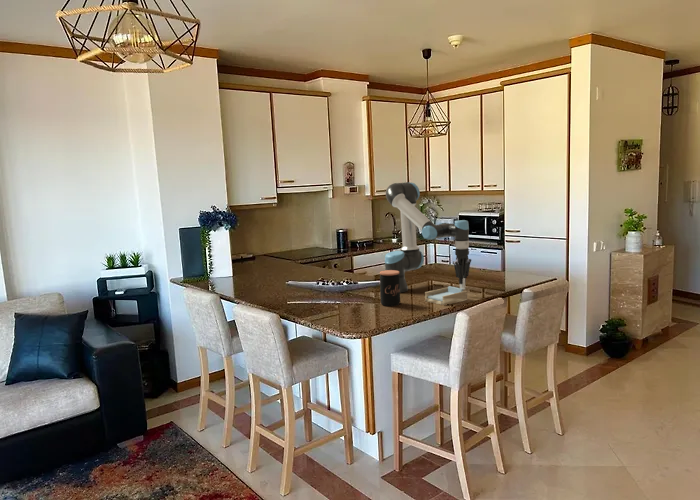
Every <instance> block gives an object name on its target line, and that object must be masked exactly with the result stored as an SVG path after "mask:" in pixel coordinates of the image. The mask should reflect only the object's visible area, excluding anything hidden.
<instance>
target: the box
mask: <svg viewBox="0 0 700 500" xmlns="http://www.w3.org/2000/svg"><path fill="white" fill-rule="evenodd" d="M448 287H449V286H447V287H443V288H442V287H441V288H439V289H433V290H429V291H425V292H424V299H425V300H424V302H427V303H431V304H435V303H436V304H437V305H439V304H440V305H439V306H443V305H445V306H447V304H449V305H452V304H457V303H461V302H464V301H468V291H467V290H463V292H458V293H454V294H450V295H446V296H443V301H439V300H435V299H430V298H428V296H430V295H434V294H439V293H443V292H448Z"/></svg>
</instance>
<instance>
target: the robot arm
mask: <svg viewBox="0 0 700 500" xmlns="http://www.w3.org/2000/svg"><path fill="white" fill-rule="evenodd" d="M420 194H421V193H420V188H419V187H418V185H416V183H414V182H409V181H408V182H406V181H405V182H395V183H394V182H393V183H391V184H390V185H389V186H388V187H387V189H386V190H385V198H386V200H387V202H388V203H389V204H390V205H391V206H392V207H393V208H396V209H398V210H399V211H400V225H401V241H402V246H401V248H400V250H395V251H390V252H387V253H386V254H385V256H384V269H385V270H396V271H399V276H400V294H401V293H406V292H408V291H409V287H408V283H407V281H406V277H405V273H406V272H410V271H415V270H417V269H420V268H422V266H423V264H424V260H425V257H424V254H423V252H422V251H421V250H420V247H419V246H418V245H417V233H416V231H417V230H416V227H417V228H418V229H419V230H421V235H422V238H423V239H425V240H435V239H440V238H447V237H452V238H454V247H455V249H454V254H455V256H456V257H455V261H452V264H453V267H454V273H455V277H456V278H457V279H458V284H459V288H461V289H463V291H466V280H467V279H468V277H469V274H470V267H471V263H472V259H471V258H469V255H470V251H469V250H470V249H469V247H470V243H469V242H470V241H469V239H470V238H469V235H470V234H469V231H470V226H469V225H470V224H469V221H468V220H465V219H462V220H455V221H454V223H447V222H440V223H439V224H435V223H433V222H432V221H431V219H429V218H428V217H427V216H426V215H425V214H424V213H423V212H422V211H420V209H418V208H417V207H416V205H417V201H418V200H419V198H420ZM385 270H384V271H385Z"/></svg>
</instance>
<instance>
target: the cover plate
mask: <svg viewBox="0 0 700 500" xmlns="http://www.w3.org/2000/svg"><path fill="white" fill-rule="evenodd" d="M447 287H448V292H443V293H439V294H434V295H430V296H428V298H430V299H435V300H439V301H443V296H446V295H450V294H454V293H458V292H463V291H464V290H463V289H461V288H460V287H455V286H450V285H449V286H447Z"/></svg>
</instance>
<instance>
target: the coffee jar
mask: <svg viewBox="0 0 700 500" xmlns="http://www.w3.org/2000/svg"><path fill="white" fill-rule="evenodd" d="M379 289H380V291H379V292H380V295H379V296H380V303H381V305H382V306H384V307H397V306H399V305H400V303H401V293H400V276H399V271H396V270H381V271H380V272H379Z"/></svg>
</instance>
